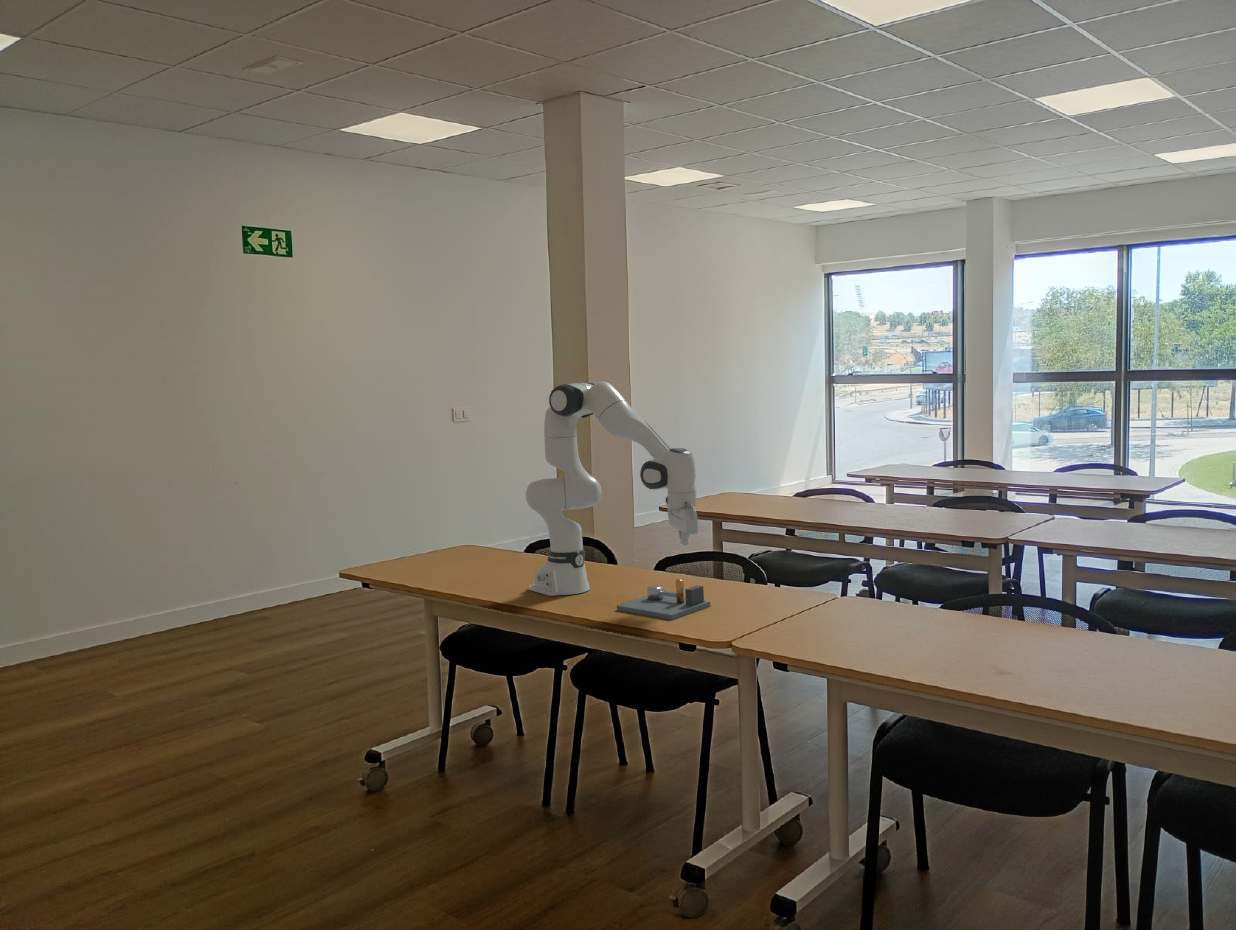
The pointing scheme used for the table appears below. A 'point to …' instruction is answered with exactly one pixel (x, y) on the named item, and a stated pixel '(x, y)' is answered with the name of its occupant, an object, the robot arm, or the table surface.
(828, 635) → the table surface
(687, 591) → the stand
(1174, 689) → the table surface
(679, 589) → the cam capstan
